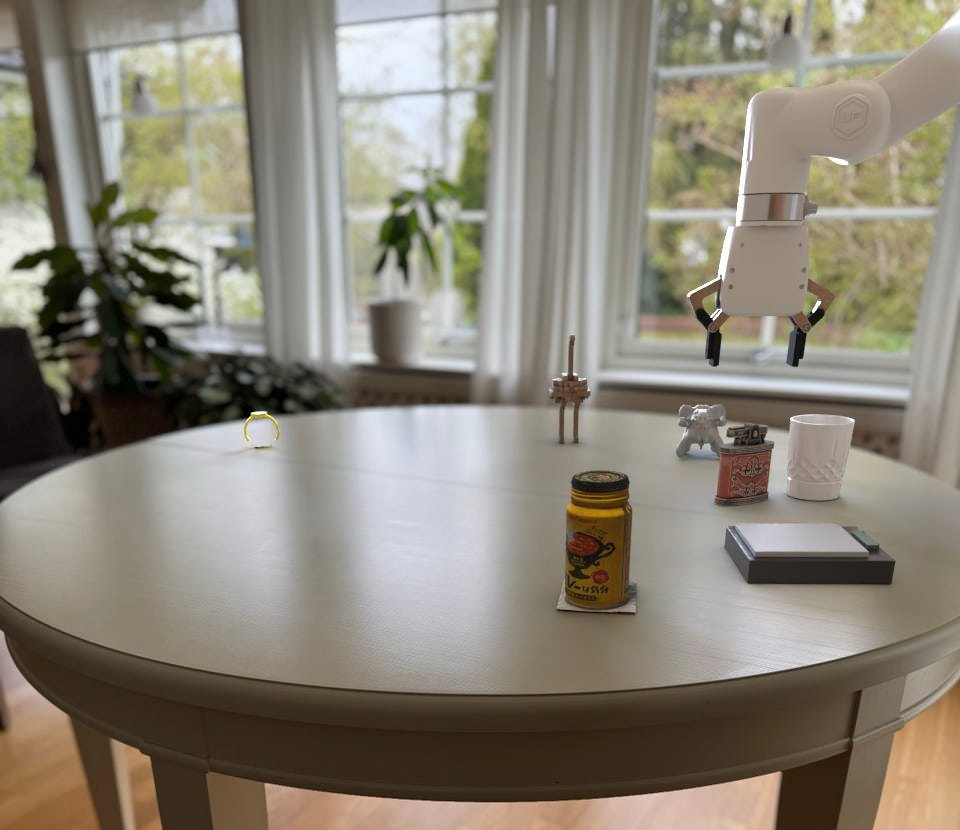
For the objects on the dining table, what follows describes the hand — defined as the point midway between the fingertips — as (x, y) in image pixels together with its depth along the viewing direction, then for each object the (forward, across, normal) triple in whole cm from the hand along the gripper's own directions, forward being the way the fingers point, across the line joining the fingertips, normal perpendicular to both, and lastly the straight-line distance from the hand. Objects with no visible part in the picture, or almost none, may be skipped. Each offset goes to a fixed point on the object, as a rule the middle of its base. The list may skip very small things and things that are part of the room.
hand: (752, 365), depth 110 cm
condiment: (+18, +20, +36) cm, 45 cm away
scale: (+17, -2, +26) cm, 31 cm away
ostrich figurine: (+18, +22, -45) cm, 53 cm away
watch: (+18, +74, -37) cm, 85 cm away
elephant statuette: (+18, 0, -30) cm, 35 cm away
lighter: (+17, 0, 0) cm, 17 cm away
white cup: (+17, -10, -3) cm, 20 cm away
